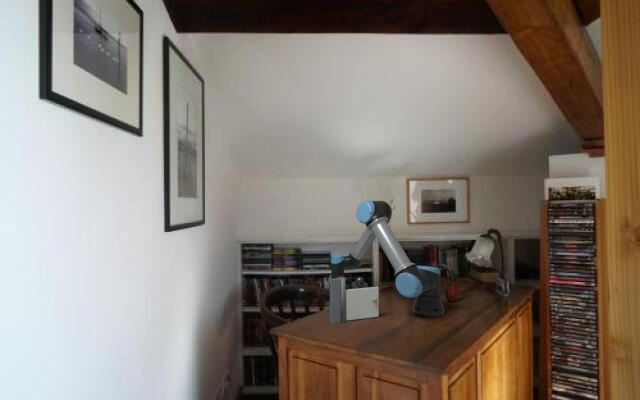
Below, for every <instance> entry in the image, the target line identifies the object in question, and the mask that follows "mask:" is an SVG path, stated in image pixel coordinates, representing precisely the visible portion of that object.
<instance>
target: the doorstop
mask: <svg viewBox="0 0 640 400" xmlns="http://www.w3.org/2000/svg"><path fill="white" fill-rule="evenodd" d="M359 288H369V284H368V283H367V282H366V281H364V278H363V277H362V276H357V277H356V278H355V281H352V289H359Z"/></svg>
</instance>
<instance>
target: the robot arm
mask: <svg viewBox="0 0 640 400" xmlns="http://www.w3.org/2000/svg"><path fill="white" fill-rule="evenodd" d="M355 214H356V219H357V220H358V222H359V223H361V224H365V226H366V228H365V230H364V232H363V233H362V234H361V236H360V237H359V239H358V240H357V242H356V243H355V245H354V246H353V248H352V249H351V251H350V252H349V254H348V255H344V254H343V253H333V254H332V253H331V258H330V275H329V277H328V284H330V279H336V278H339V279H340V278H345V290H348V289H352V282H353V281H352V280H351V279H349V278H347V277H345V270H349V269H355V268H359V267H361V266H362V263H363V258H364V256H365V255H366V253H367V252H368V251H369V249H370V247H371V246H372V244H373V243H374V242H375V240H377V241H378V243H379V245H380V247H381V248H382V251H383V252H384V253H385V255H386V257H387V258H388V260H389V262H390V264H391V265H392V268H393V269H394V277H395V287H396V290H397V291H398V292H399V294H400V295H401V296H403V297H405V298H408V299H409V298H415V300H414V303H413V305H412V312H413V313H414V314H416V315H418V316H422V317H430V318H433V317H434V318H435V317H441V316H444V315H445V308H444V305H443V302H442V299H441V298H442V297H441V276H442V275H441V269H440V268H436V267H433V266H427V265H417V264H416V263H414V262H411V260H410V259H409V257H408V256H407V253H406V252H405V251H404V249H403V246H402V245H401V244H400V242H399V241H398V238H397V237H396V236H395V234H394V231H393V230H392V229H391V227H390V225H389V222H390V221H391V219H392V215H393V210H392V207H391V205H390V204H389V203H388V202H387V201H384V200H368V199H367V200H364V201H361V202H360V203H359V204H358V205H357V207H356V211H355Z"/></svg>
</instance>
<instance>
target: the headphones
mask: <svg viewBox="0 0 640 400" xmlns="http://www.w3.org/2000/svg"><path fill="white" fill-rule="evenodd" d="M432 267H436V268H439V269H440V268H442V269H444V270H445V271H446V272H447V273H448V274H449V276H450V278H451V283H449V284H447V286H446V287H445V291H444V295H445V296H444V297H445V299H446V300H447V301H448V302H452V301H453V302H454V301H455V300H456V299H457V297H458V296H459V295H458V294H459V291H458V287H457V286H458V283H457V277H456V276H457V275H456V274H455V271H454V270H453V269H452V267H450V266H448V265H447V264H444V263H443V264H442V263H440V264H435V265H433V266H432Z"/></svg>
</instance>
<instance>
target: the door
mask: <svg viewBox="0 0 640 400" xmlns="http://www.w3.org/2000/svg"><path fill="white" fill-rule="evenodd" d="M379 306H380V305H379V286H371V287H370V286H369V287H368V288H359V289H348V290H345V307H346V321H353V320H363V319H370V318H377V317H380V316H379V315H380V313H379Z"/></svg>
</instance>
